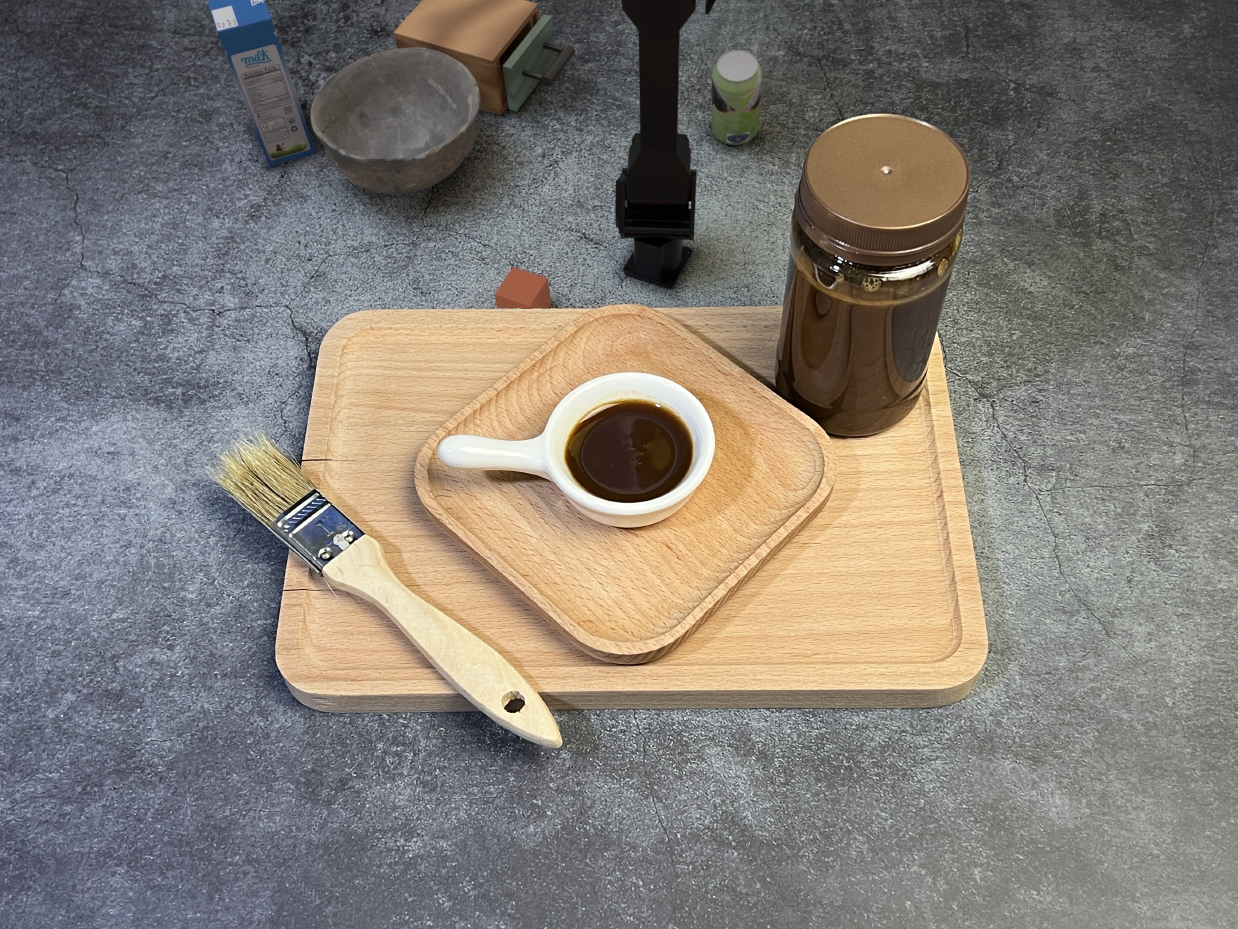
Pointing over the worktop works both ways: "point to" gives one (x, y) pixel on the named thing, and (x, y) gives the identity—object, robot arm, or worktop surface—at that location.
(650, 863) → the worktop surface
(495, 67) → the cabinet
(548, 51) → the drawer
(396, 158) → the bowl
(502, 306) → the block
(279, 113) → the milk carton
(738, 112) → the beverage can
